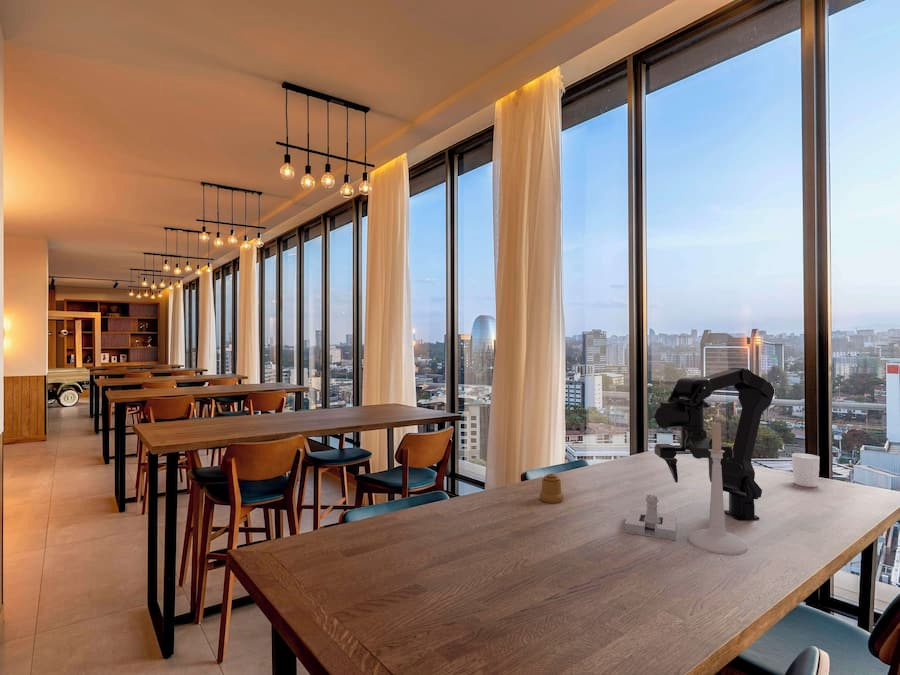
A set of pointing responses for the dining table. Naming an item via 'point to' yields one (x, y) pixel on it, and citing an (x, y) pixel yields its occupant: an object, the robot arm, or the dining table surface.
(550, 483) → the ornamental finial
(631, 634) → the dining table surface
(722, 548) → the candlestick
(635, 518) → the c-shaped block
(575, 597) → the dining table surface
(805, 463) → the white cup
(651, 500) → the rook chess piece
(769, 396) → the robot arm
